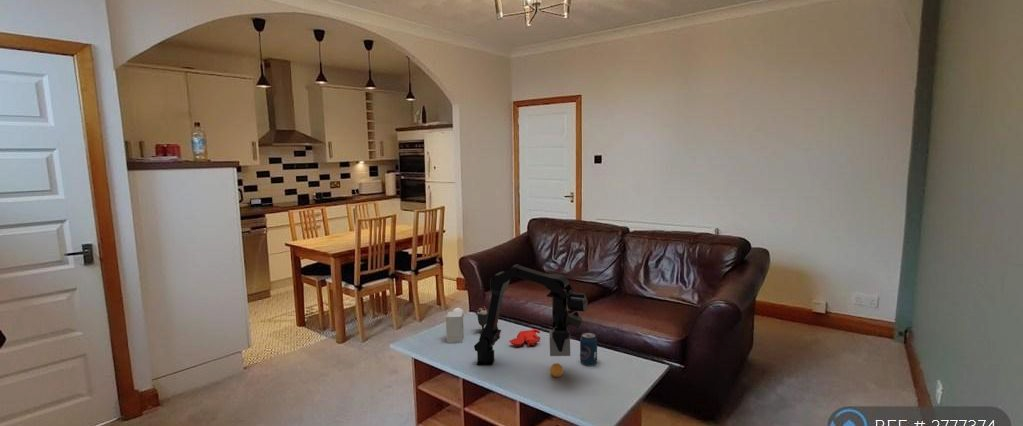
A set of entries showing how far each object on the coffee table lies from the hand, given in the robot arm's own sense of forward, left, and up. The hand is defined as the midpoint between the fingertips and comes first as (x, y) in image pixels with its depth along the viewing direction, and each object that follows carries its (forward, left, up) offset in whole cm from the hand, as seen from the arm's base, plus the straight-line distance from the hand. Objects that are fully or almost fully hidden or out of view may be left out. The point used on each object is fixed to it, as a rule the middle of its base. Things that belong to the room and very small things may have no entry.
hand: (560, 347), depth 187 cm
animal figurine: (-15, +31, -12) cm, 36 cm away
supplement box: (-48, +35, -12) cm, 61 cm away
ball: (-1, 0, -10) cm, 10 cm away
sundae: (-36, +44, -12) cm, 58 cm away
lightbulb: (-49, +48, -12) cm, 70 cm away
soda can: (+12, +12, -12) cm, 21 cm away
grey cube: (0, 0, -2) cm, 2 cm away
